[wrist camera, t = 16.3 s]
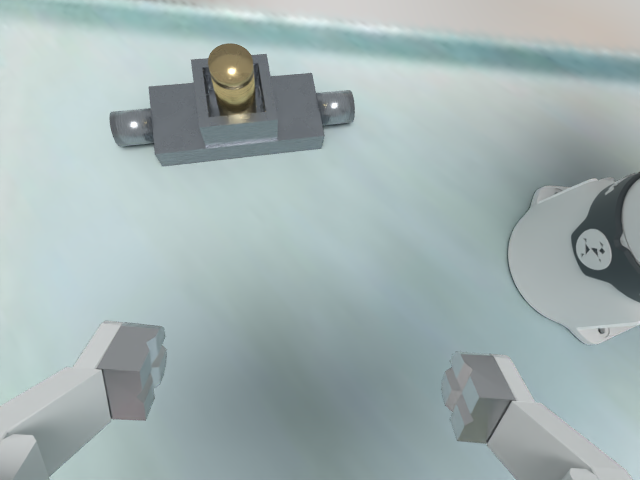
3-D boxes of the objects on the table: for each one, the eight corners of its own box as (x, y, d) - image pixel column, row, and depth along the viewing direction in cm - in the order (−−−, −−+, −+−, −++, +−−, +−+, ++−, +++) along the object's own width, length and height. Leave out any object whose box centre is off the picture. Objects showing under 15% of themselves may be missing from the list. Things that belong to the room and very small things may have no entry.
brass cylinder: (253, 93, 45) (249, 42, 37) (258, 125, 44) (256, 79, 36) (217, 96, 44) (205, 45, 37) (221, 129, 43) (210, 83, 36)
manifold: (341, 86, 50) (352, 46, 43) (353, 144, 48) (367, 112, 41) (119, 105, 46) (93, 65, 39) (124, 170, 44) (98, 139, 37)
